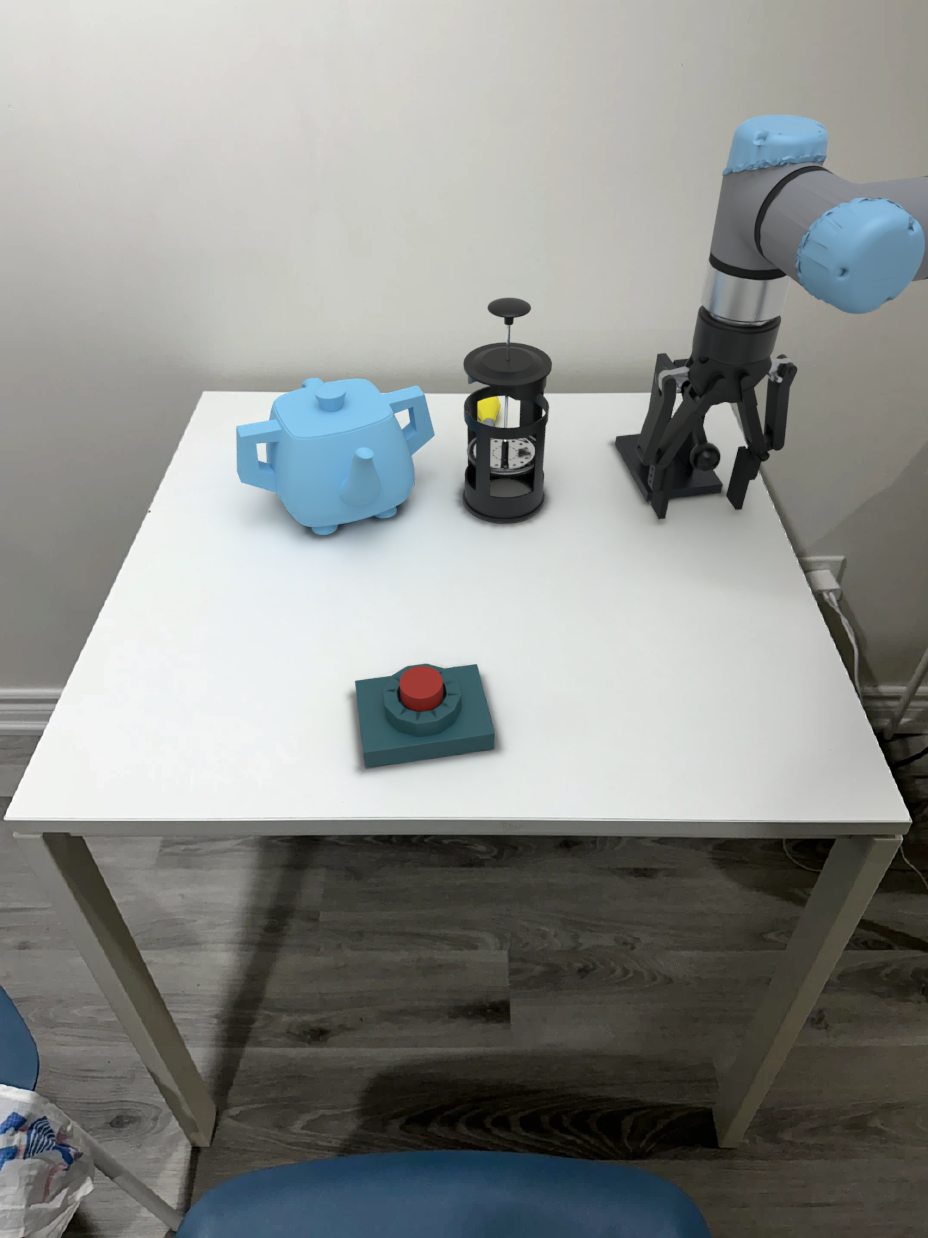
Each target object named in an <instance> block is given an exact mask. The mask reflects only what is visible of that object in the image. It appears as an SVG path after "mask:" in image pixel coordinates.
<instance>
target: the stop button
mask: <svg viewBox="0 0 928 1238" xmlns="http://www.w3.org/2000/svg"><path fill="white" fill-rule="evenodd" d="M400 694H401V700H402V702H403V704H404V705H405V706H406V707H407V708H409V709H411V710H413V711H418V712H424V711H429V710H432V709H434V708H435V707H437V706H438V705H439V704H440V703H441V701H442V699H443V680H442V677H441V675H440V673H439V672H438V671H436V670H435V669H433V668H431V667H427V666H417V667H413V668H411V669H409V670H407V671H406V672H405V673H404V674H403V675H402V676H401V678H400Z"/></svg>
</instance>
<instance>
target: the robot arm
mask: <svg viewBox="0 0 928 1238" xmlns="http://www.w3.org/2000/svg"><path fill="white" fill-rule="evenodd" d="M828 143H829V134H828V131H827V129H826V127H825V125H824V124H823V123H821V122H820V121H818V120H816V119H812V118H809V117H805V116H799V115H793V114H765V115H764V114H763V115H757V116H753V117H751V118H748V119H745V120H744V121H743V122H741V123H740V124H739V125H738V126H737V127H736V129H735V131H734V133H733V135H732V140H731V145H730V148H729V153H728V156H727V162H726V166H725V168H724V169H723V171H722V174H721V176H722V179H721V185H720V191H719V197H718V203H717V208H716V214H715V220H714V225H713V230H712V238H711V242H710V248H709V250H710V251H709V256H708V258H707V265H706V270H705V275H704V279H703V280H704V281H703V284H702V285H703V286H702V289H701V296H700V303H701V306H700V307H699V308H698V311H697V314H696V315H697V316H696V322H695V327H694V332H693V337H692V345H691V353H690V355H689V357H688V358H687V359H688V360H687V362H686V363H685V365H684V367H680V368H676V369H672V370H668V369H667V367H665V366H662V367H659V368H658V369H657V371H656V390H655V393H654V396H653V399H652V401H651V404H650V407H649V406H648V409H649V410H648V409H647V413H646V416H645V418H644V420H643V421H644V422H643V424H642V426H641V430H640V433H639V434H640V435H639V438H638V441H637V444H636V447H635V451H636V453H637V455H638V456H639V458H640V460H641V462H642V463H643V465H645V466H648V465H650V469H649V475H648V484H649V486H650V487H651V489H652V491H653V494H652V500H651V501H650V507H651V508H652V510H653V512H654V514H655V516H656V517H657V519H658V520H665V519H666V517H667V511H668V507H669V502H670V499H669V497H670V492H671V487H672V482H673V477H674V472H675V468H674V466H673V465H672V463H671V461H672V459H673V458H674V456H675V455H676V453H677V452H678V450H679V449H680V447H681V446H682V444H683V443H684V441H685V440H686V438H687V437H688V435H689V434H690V432H691V431H692V429H693V427H694V426H695V424H696V423H697V421H698V420H699V418H700V417H701V416H703V415H705V414H706V415H707V414H708V412H709V410H710V409H711V408H712V406H717V405H721V404H724V403H727V404H736V406H737V411H738V414H739V419H740V423H741V426H742V431H743V435H744V439H745V443H746V445H741V446H738V447H737V450H736V453H735V458H734V463H733V466H732V470H731V473H730V477H729V482H728V487H727V489H726V494H725V497H726V498H727V500H728V501H729V503H730V505H731V506H732V507H733V509H734V510H735V511H740V510H741V511H742V510H743V507H744V503H745V499H746V496H747V492H748V489H749V485H750V481H755V480H756V478H757V477H758V476H759V475H758V474H759V471H760V468H761V465H762V463H764V462H766V461H768V460H769V459H770V456H771V454H770V453H769V452H770V451H772V450H774V451H776V452H779V451H781V450H782V449H783V448H784V446H785V442H786V441H785V440H786V433H787V422H788V413H789V402H790V392H791V386H792V384H793V382H794V379H795V378H796V375H797V374H798V367H797V365H795V363H793V361H792V360H791V359H790V358H789V357H788V356H787V355H786V354H784V353H782V354H779V355H778V356H776V358H773V357H771V356H772V354H773V352H774V350H775V346H776V341H777V338H778V335H779V331H780V326H781V323H782V317H781V315H782V313H784V311H785V310H786V305H787V302H788V298H789V293H790V289H791V285H792V281H794V282H796V283H797V284H798V285H799V286H801V287H802V288H803V289H804V290H805V291H806V292H807V293H808V294H809V295H810V296H813V297H814V298H815V299H816V300H817V301H823V302H824V304H828V305H830V306H832V307H834V308H836V309H838V310H839V311H841V312H844V313H846V314H851V315H863V314H868V313H872V312H875V311H877V310H879V309H880V308H881V307H882V305H884V304H886V303H887V302H889V301H893V300H895V299H896V298H898V297H899V296H900V295H901V294H902V293H903V292H904V291H905V290H906V288H908V286H909V285H910V284H911V283H912V282H918V281H923V280H928V175H923V176H915V177H914V176H913V177H907V178H898V179H890V180H882V181H875V182H867V183H856V182H853V181H852V182H851V181H849V180H847V179H845V178H843V177H841V176H839V175H837V174H835V173H834V172H832V171H830V169H828V168H826V167H824V163H825V161H826V159H827V149H828ZM766 376H767V377H768V378H767V384H766V385H767V387H766V398H765V412H764V424H763V426H764V427H762V423H761V420H760V415H759V410H758V405H759V404H758V399H757V394H756V391H755V387H757V385H759V384H760V383H761V381H762V380H763V379H765V377H766ZM686 380H689V382H690V385H689V386H688V388H687V389H686V391H685V393H684V395H683V398H682V401H681V403H680V404H679V406H678V407H677V409H676V410H675V412H674V413H673V412H672V410H673V411H674V408H675V404H676V400H677V394H681V393H680V392H681V387H682V384H683V383H684V382H685V381H686ZM676 393H677V394H676ZM698 396H699V398H700V399H699V398H698ZM671 412H672V413H673V414H672V418H671V420H670V421H669V423H668V420H669V418H670V415H671ZM706 415H705V416H706ZM667 423H668V424H667Z"/></svg>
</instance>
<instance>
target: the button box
mask: <svg viewBox="0 0 928 1238" xmlns="http://www.w3.org/2000/svg"><path fill="white" fill-rule="evenodd" d="M417 666H427V667H431V668H433V669H435V670H436V671H438V672H439V673H440V675H441V677H442V680H443V699H442V701H441V703H440V704H439V705H438V706H437V707H435V708H434V709H432V710H429V711H424V712H418V711H413V710H411V709H409V708H407V707H406V706H405V705H404V704H403V702H402V700H401V694H400V678H401V676H402V675H403V674H404V673H405V672H406V671H407V670H409V669H411V668H413V667H417ZM354 684H355V686H354V687H355V696H356V702H357V703H356V704H357V712H358V713H357V714H358V721H359V729H360V738H361V739H360V740H361V747H362V756H363V762H364V768H365V769H370V768H371V769H372V768H377V767H383V766H390V765H398V764H404V763H410V762H418V761H423V760H429V759H430V760H431V759H436V758H437V759H439V758H444V757H451V756H456V755H457V756H458V755H464V754H470V753H471V754H472V753H477V752H478V753H479V752H483V751H484V752H485V751H491V750H495V740H496V739H495V738H496V737H495V736H496V734H495V729H494V725H493V720H492V717H491V713H490V708H489V705H488V701H487V698H486V693H485V690H484V686H483V682H482V678H481V674H480V670H479V666H478V664H477V663H473V664H467V665H459V666H458V665H457V666H450V667H441V666H438V665H434V664H431V663H418V664H411V665H406V666H405V667H403V668H402V669H400V670H398V671H396V672H395V673H393V674H391V675H386V676H380V677H379V676H378V677H371V678H363V679H355V681H354Z"/></svg>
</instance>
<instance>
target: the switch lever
mask: <svg viewBox="0 0 928 1238" xmlns="http://www.w3.org/2000/svg"><path fill="white" fill-rule="evenodd" d="M688 359H689V358H681V359H673V361H672V362H673V364H674V365H675V366H676V368H680V367H684V365H685V363H686V362H687V360H688ZM689 385H690V382H689V380H686V381H685V382H684V383H683V384H682V387H681V392H680V393H679V394H680V395H681V398H682V399H683V395H684V393H685V391H686V389H687V388H688V386H689ZM676 395H677V393H676ZM691 433H692V436H693V440H694V444H695V447H694V448H693V449H692V451H691V453H690V457H689V459H690V464H691V466H692V467H693V468H694V469H695V470H696V471H698V472H702V473H707V472H710V471H712V470H714V471H715V469H717V467H718V466H719V464H720V462H721V457H722V455H721V452H720V451H721V450H720V449H719V447H718V446H717V445H715V444H714V443H712V442H709V441H708V438H707V434H706V430H705V427H704V424H703V423H702V419H701V417H700V418H699V420H698V421H697V423H696V424H695V426H694V427H693V429H692V431H691Z"/></svg>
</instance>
